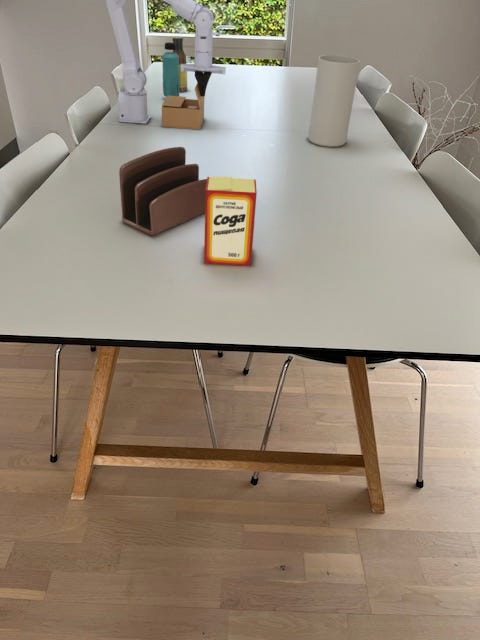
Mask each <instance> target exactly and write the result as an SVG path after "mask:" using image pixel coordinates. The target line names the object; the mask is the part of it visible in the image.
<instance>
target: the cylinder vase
mask: <svg viewBox="0 0 480 640" xmlns="http://www.w3.org/2000/svg"><path fill="white" fill-rule="evenodd" d="M360 63H361V60H360V59H359V58H355V57H351V56H346V55H337V54H324V55H320V56H318V61H317V68H316V75H315V82H314V90H313V98H312V106H311V113H310V121H309V122H310V123H309V129H308V140H309V142H311V143H312V144H314V145H317V146H321V147H328V148H330V147H331V148H335V147H336V148H337V147H341V146H344V145H345V144H346V143H347V138H348V132H349V126H350V121H351V114H352V110H353V109H352V108H353V105H354V104H353V103H354V98H355V93H356V87H357V80H358V75H359V69H360Z"/></svg>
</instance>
